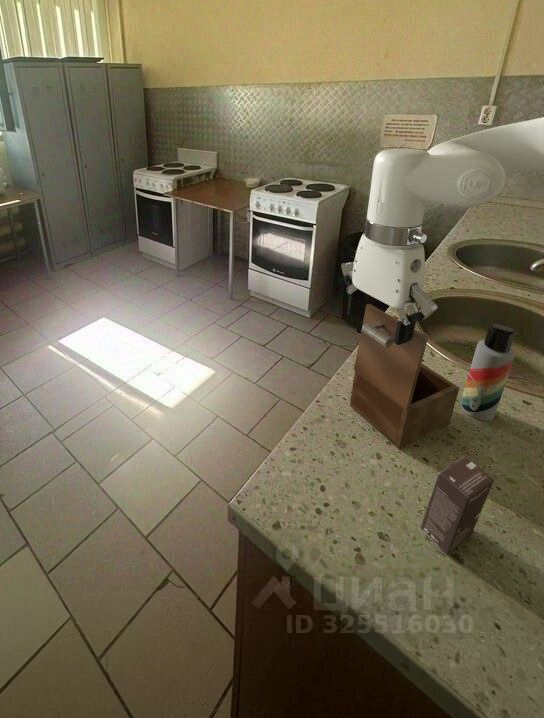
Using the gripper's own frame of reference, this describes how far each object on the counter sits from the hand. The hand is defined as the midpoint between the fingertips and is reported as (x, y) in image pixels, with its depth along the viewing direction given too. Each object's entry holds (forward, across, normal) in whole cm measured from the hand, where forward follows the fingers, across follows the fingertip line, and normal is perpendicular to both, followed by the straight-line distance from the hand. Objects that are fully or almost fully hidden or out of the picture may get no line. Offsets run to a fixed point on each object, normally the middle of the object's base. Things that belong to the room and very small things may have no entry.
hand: (377, 326), depth 66 cm
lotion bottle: (+24, -6, -25) cm, 36 cm away
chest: (+24, 0, -10) cm, 26 cm away
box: (+24, -19, +3) cm, 31 cm away
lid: (+7, 0, -4) cm, 9 cm away
